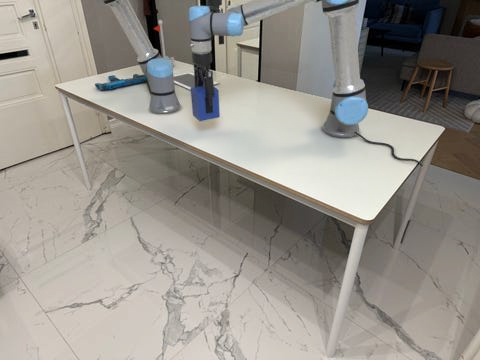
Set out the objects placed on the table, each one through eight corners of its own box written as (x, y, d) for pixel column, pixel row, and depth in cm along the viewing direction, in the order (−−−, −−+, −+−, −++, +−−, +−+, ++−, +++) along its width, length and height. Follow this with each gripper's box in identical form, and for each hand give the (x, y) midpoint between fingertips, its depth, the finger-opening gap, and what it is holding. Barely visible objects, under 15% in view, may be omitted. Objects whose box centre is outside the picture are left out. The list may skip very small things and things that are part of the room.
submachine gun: (139, 68, 225) (158, 74, 208) (140, 74, 226) (158, 80, 210) (87, 78, 206) (103, 86, 189) (89, 84, 208) (104, 92, 191)
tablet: (163, 78, 216) (163, 77, 215) (189, 72, 227) (189, 71, 226) (191, 90, 195) (191, 90, 195) (219, 83, 206) (219, 83, 206)
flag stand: (172, 63, 247) (168, 18, 231) (176, 67, 237) (171, 20, 221) (154, 64, 243) (148, 19, 227) (158, 69, 233) (151, 21, 217)
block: (212, 111, 147) (210, 84, 140) (219, 117, 141) (218, 89, 135) (192, 115, 143) (190, 87, 137) (199, 121, 138) (197, 93, 131)
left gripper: (197, -6, 176) (200, 38, 187) (218, -2, 157) (219, 47, 169) (210, -6, 179) (212, 37, 190) (232, -2, 160) (232, 45, 172)
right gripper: (183, 47, 134) (188, 103, 147) (203, 58, 119) (207, 119, 132) (200, 45, 137) (204, 100, 150) (222, 56, 122) (224, 115, 134)
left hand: (216, 41), depth 179 cm, fingers open, 13 cm apart
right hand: (205, 109), depth 141 cm, fingers closed on block, 8 cm apart
